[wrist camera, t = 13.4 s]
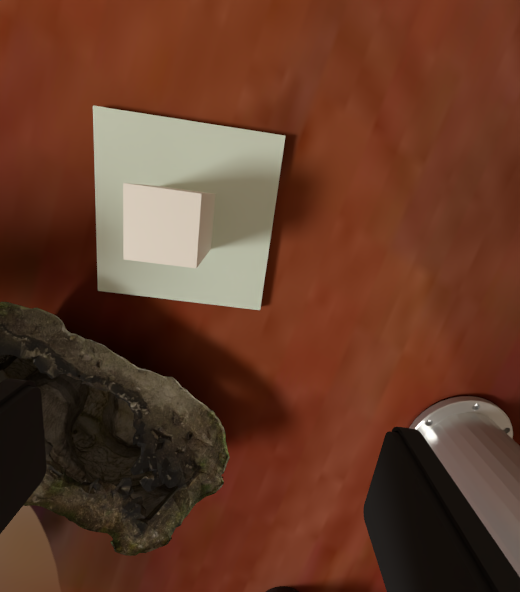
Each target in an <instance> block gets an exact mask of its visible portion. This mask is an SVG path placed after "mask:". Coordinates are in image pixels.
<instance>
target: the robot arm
mask: <svg viewBox="0 0 520 592" xmlns="http://www.w3.org/2000/svg"><path fill="white" fill-rule="evenodd" d="M512 438H513V429H512V424H511V422H510V419H509V418H508V416H507V415H506V414H505V412H503V411H502V410H501V409H500V408H499V407H498V406H497V405H495V404H494V403H492V402H490V401H489V400H486V399H483V398H480V397H473V396H460V397H454V398H449V399H446V400H444V401H441V402H438V403H436V404H434V405H433V406H431V407H429V408H428V409H426V410H425V411H424V412H422V413H421V414H420V415H419V416H418V417H417V418H416V419H415V420H414V422H413V423H412V424H411V426H410V427H409V428H402V427H394V428H393V430H392V432H387V433H386V435H385V438H384V442H383V445H382V448H381V451H380V455H379V458H378V461H377V465H376V468H375V471H374V475H373V478H372V481H371V485H370V488H369V491H368V494H367V498H366V501H365V504H364V520H365V523H366V527H367V530H368V533H369V536H370V539H371V542H372V546H373V549H374V552H375V555H376V558H377V561H378V565H379V568H380V571H381V574H382V577H383V580H384V583H385V587H386V590H387V592H520V446H519V445H518V444H517V443H516V442H515V441H514V440H513V439H512ZM46 468H47V465H46V452H45V438H44V424H43V411H42V397H41V390H40V389H39V388H37V387H36V384H35V383H34V382H33V381H29V380H21V379H13V378H8V379H5V380H3V381H2V382H0V533H1V532H2V531H3V530H4V529H5V527H6V526H7V525H8V524H9V522H10V521H11V520H12V519H13V517H14V516H15V515H16V513H17V512H18V511H19V510H20V508H21V507H22V506H23V505H24V504H25V502H26V501H27V500H28V499H29V497H30V496H31V495H32V494H33V492H34V491H35V490H36V489H37V487H38V486H39V485H40V483H41V482H42V480H43V478H44V476H45V474H46Z"/></svg>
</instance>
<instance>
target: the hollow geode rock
mask: <svg viewBox="0 0 520 592" xmlns="http://www.w3.org/2000/svg"><path fill="white" fill-rule="evenodd" d="M8 378H13V379H21V380H29V381H33V382H34V383H35V384H36V387H37V388H39V389H40V390H41V397H42V411H43V424H44V438H45V452H46V465H47V468H46V474H45V476H44V478H43V480H42V482H41V483H40V485H39V486H38V487H37V489H36V490H35V491H34V492H33V494H32V495H31V496H30V497H29V499H28V500H27V501H26V502H25V504H24V505H25V506H28V505H37V506H42V507H44V508H46V509H49V510H51V511H53V512H54V513H57V514H59V515H61V516H65V517H66V518H67V519H68V520H69V521H72V522H74V523H76V524H77V525H78V526H80V527H82V528H84V529H87V530H90V531H95V532H102V533H108V534H109V535H110V536H112V538H113V541H111V544H112V546H113V548H114V550H115V552H118V553H120V554H123V555H130V556H131V555H137V554H138V553H147V552H149V551H152V550H154V549H157V548H159V547H162V546H165V545H167V544H168V543H169V541H170V540H171V539H172V538H171V535H172V534H173V532H174V530H175V528H176V527H178V526H180V525H181V523H182V521H183V519H184V518H185V517H186V516H187V515H188V514H189V512H190V511H191V509H192V508H193V506H194V505H195V504H196V503H197V502H199V501H200V500H202V499H203V498H204V497H206V496H209V495H212V494H214V493H216V492H217V491H218V490H219V489H220V488H221V487H222V485H223V483H224V481H223V479H222V478H223V477H221V475H222V474H223V473H224V471H225V468H226V464H227V462H228V460H229V453H228V450H227V445H226V441H225V439H226V436H225V430H224V427H223V426H222V424H221V422H220V419H219V418H218V417H216V416H215V413H214V411H212V410H211V409H209V408H208V407H207V406H206V405H205V404H203V403H202V402H200V401H199V400H197V399H196V398H194V397H193V395H192V394H190V393H189V392H188V390H186V389H184V388H183V387H182V386H181V385H180V384H179V382H178V381H177V380H176V379H174V378H173V377H166V376H162V375H160V374H157V373H155V372H152V371H150V370H146V369H142V368H138V367H136V366H135V365H133V364H132V363H130V362H129V361H128V360H127V359H125V358H123V357H122V356H119V355H117V354H116V353H114V352H113V351H111V350H110V349H108V348H107V347H106V346H105V345H102V344H99V343H97V342H95V341H92V340H90V339H85V338H83V337H81V336H79V335H77V334H73V333H70V332H69V331H67V330H66V328H65V325H64V323H63V322H62V320H61V319H59V318H58V317H57V316H56V315H54V314H51V313H49V312H47V311H44V310H41V309H39V308H32V309H30V308H27V307H23V306H20V305H16V304H12V303H9V302H0V382H2V381H3V380H5V379H8Z"/></svg>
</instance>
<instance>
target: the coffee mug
mask: <svg viewBox="0 0 520 592" xmlns="http://www.w3.org/2000/svg"><path fill="white" fill-rule="evenodd" d="M266 592H298V591H297V590H296V589H293V588H290V587H275V588H272V589H270V590H268V591H266Z"/></svg>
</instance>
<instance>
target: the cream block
mask: <svg viewBox="0 0 520 592" xmlns="http://www.w3.org/2000/svg"><path fill="white" fill-rule="evenodd" d="M215 195H216V194H214V193H206V192H199V191H192V190H185V189H177V188H170V187H163V186H153V185H142V184H130V183H123V259H124V260H132V261H140V262H148V263H156V264H164V265H173V266H181V267H189V268H197V267H198V266H199V264H200V263H201V262H202V260H203V259H204V258H205V256H206V255H207V254H208V252H209V251H210V250H211V243H212V231H213V219H214V207H215Z"/></svg>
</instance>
